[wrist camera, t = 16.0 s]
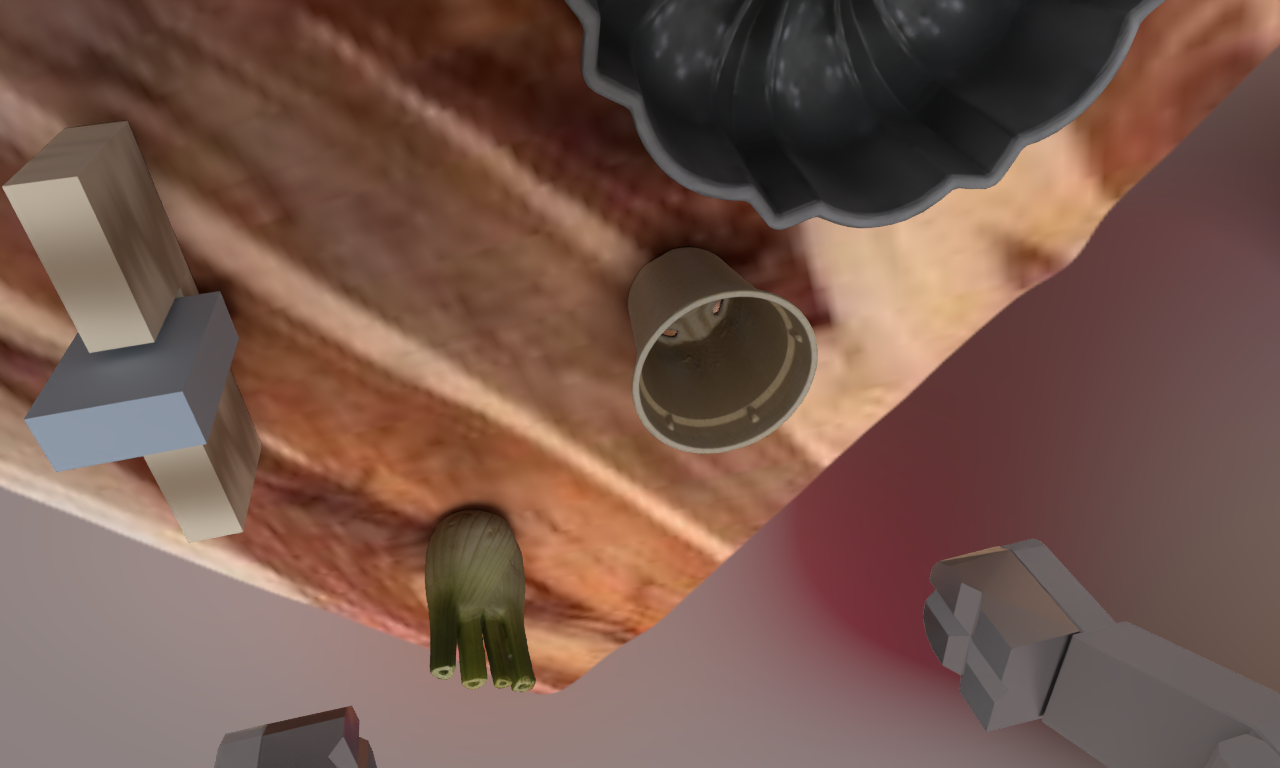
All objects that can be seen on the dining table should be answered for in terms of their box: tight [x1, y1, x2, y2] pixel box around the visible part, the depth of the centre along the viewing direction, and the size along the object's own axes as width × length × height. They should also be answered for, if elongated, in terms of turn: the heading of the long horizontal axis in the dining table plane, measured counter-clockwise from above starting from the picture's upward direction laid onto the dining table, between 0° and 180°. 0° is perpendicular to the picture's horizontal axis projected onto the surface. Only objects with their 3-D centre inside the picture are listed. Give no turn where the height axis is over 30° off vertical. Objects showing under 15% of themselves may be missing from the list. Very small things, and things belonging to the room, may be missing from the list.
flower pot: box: [628, 247, 818, 454], centre depth 44 cm, size 9×9×9 cm
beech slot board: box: [2, 121, 262, 543], centre depth 38 cm, size 18×2×7 cm, turn 4°
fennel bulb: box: [425, 510, 536, 692], centre depth 48 cm, size 6×5×12 cm
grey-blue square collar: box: [24, 291, 239, 472], centre depth 36 cm, size 6×3×8 cm, turn 94°
